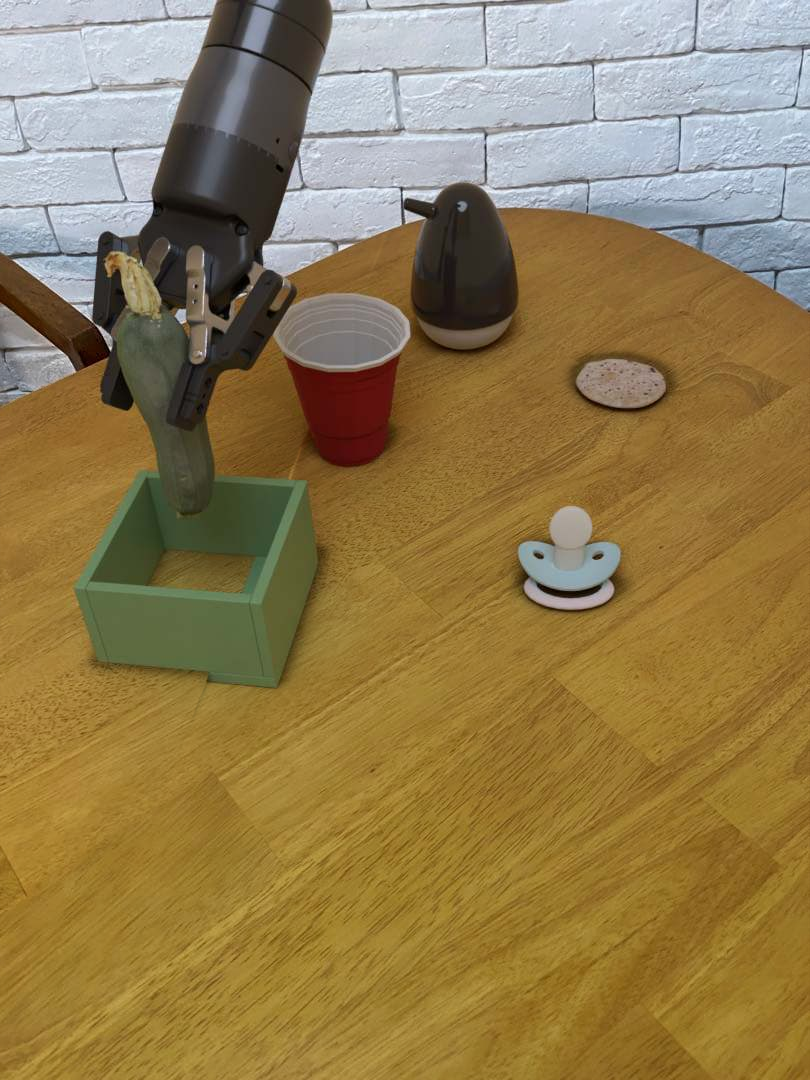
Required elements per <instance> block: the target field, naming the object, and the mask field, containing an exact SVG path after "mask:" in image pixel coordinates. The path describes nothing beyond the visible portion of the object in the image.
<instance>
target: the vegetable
mask: <svg viewBox="0 0 810 1080" xmlns="http://www.w3.org/2000/svg"><path fill="white" fill-rule="evenodd" d="M105 259H106V262H105V268H106V270H107V272H108V275H107V276H108V277H111V276H112V274H113V273H114V272H115V268H114V265H115V267H116V268H117V269H119V270H120V272H121V279H122V286H123V290H124V293H125V298H126V300H127V303H128V305H129V306H127V305H126V308H131V310H132V312H131V313H128V314H127V315H126V317H125V318H124V319H123V321H122V323H121V325H120V327H119V330H118V335H117V355H118V359H119V363H120V366H121V369H122V372H123V375H124V378H125V381H126V383H127V385H128V387H129V390H130V392H131V394H132V397H133V399H134V402H133V403H134V404H135V406H136V408H137V410H138V412H139V413H140V415H141V416H142V418H143V420H144V423H145V424H146V426H147V428H148V432H149V434H150V437H151V440H152V444H153V446H154V451H155V458H156V459H155V460H156V466H157V471H159V475H160V480H161V485H162V491H163V496H164V498H165V500H166V501H167V502H168V504H169V505H170V507H171V508H172V509H173V510H174V511H177V518H178V520H182V519H186V520H191V519H194V518H195V517H197V516H198V515H199V514H200V513H201V512H202V511H203V510H204V509H206V508H207V507H208V505H209V503H210V499H211V497H212V494H213V489H214V477H215V475H216V466H215V458H214V452H213V448H212V444H211V443H212V442H211V439H210V434H209V429H208V422H207V421H208V420H207V415H206V416H205V418H204V419H203V421H202V422H201V423H200V424H198V423H197V425H196V427H195V429H194V430H193V431H187V430H184V429H180V428H178V427H175V426H172V425H169V424H167V422H166V415H167V412H168V408H169V405H170V402H171V399H172V396H173V393H174V390H175V386H176V383H177V380H178V377H179V374H180V371H181V368H182V364H183V363H185V364H189V365H190V360H189V357H188V353H189V336H188V333H187V331H186V330H185V328H184V326H183V325H182V324H181V322H180V321H179V320H178V318H177V317H176V315H175V316H174V315H173V314H172V313H171V312H169V311H168V310H166V309H164V308H161V307H160V305H161V301H162V299H161V297H160V295H159V293H158V291H157V289H156V287H155V286H154V283H153V280H152V277H151V275H150V273H149V272H148V271H147V270H146V268H144V267H143V264H142V263H140V264H139V263H137V259H135V258H133V257H129V256H127V255H126V253H124V252H117V251H116V252H110V254H109V255H108V256H107V258H105ZM105 259H103V260H105Z"/></svg>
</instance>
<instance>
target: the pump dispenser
mask: <svg viewBox="0 0 810 1080" xmlns="http://www.w3.org/2000/svg"><path fill="white" fill-rule="evenodd" d="M402 208H403V210H405V211H407V212H409V213H412V214H414V215H417V216H420V217H422V218H425V219H424V221H423V223H422V226H421V229H420V232H419V235H418V239H417V242H416V246H415V251H414V255H413V261H412V267H411V277H410V293H409V294H410V295H409V296H410V297H409V298H410V307H411V310H412V312H413V314H414V315H415V317H416V319H417V322H418V324H419V326H420V328H421V330H423V332H424V334H426V336H428V337H429V338H430V339H431V340H432V341H433V342H435V343H436V344H438V345H440V346H443V347H446V348H450V349H453V350H474V349H478V348H482V347H485V346H487V345H489V344H491V343H493V342H494V341H496V340H497V339H499V338H500V337H501V336H502V335H503V334H504V332H506V330H507V328H508V327H509V325H510V323H511V321H512V318H513V315H514V313H515V311H517V308H518V306H519V300H520V299H519V298H520V296H519V295H520V293H519V282H518V274H517V273H518V272H517V267H516V261H515V255H514V251H513V247H512V244H511V241H510V238H509V234H508V231H507V229H506V226H505V223H504V221H503V219H502V216H501V214H500V211H499V210H498V207H497V206H496V204H495V203H494V201H493V199H492V198H491V197H490V195H489V193H488V192H487V191H486V190H484V188H483V187H481V186H479V185H477V184H475V183H472V182H467V181H457V182H455V183H451V184H449V185H447V186H446V187H444V188H443V189H442V190H441V191H440V192H439V193H438V194H437V195H436V197H435V199H434V200H433V202H429V201H425V200H420V199H416V198H415V199H414V198H411V197H406V198H405V199H403V201H402Z"/></svg>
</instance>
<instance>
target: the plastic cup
mask: <svg viewBox="0 0 810 1080" xmlns="http://www.w3.org/2000/svg"><path fill="white" fill-rule="evenodd" d="M410 338H411V327H410V320H409V319H408V318H407V317H406V316H405V314H404V313H403V312H402V311H401V310H400V308H399V307H397V306H395V305H393V304H391V303H389V302H387V301H386V300H383V299H381V298H379V297H375V296H370V295H365V294H361V293H357V292H351V293H349V292H347V293H345V292H344V293H341V292H340V293H339V292H337V293H334V292H333V293H332V292H330V293H325V294H321V295H317V296H312V297H307V298H304V299H301V300H300V301H298V302H296V303H295V304H293V305H292V304H291V305H290V307H289V309H288V310H287V312H286V313H285V315H284V317H283V318H282V320H281V322H280V323H279V325H278V326H277V328H276V330H275V331H274V333H273V340H274V342H275V344H276V345H277V346H278V349H280V351H281V352H282V354H283V358H284V359H285V361H286V364H287V368H288V370H289V372H290V374H291V378H292V381H293V384H294V387H295V390H296V394H297V396H298V399H299V402H300V406H301V408H302V411H303V415H304V419H305V421H306V423H307V425H308V427H309V429H310V433H311V436H312V439H313V442H314V446H315V447H316V449H317V451H318V453H319V455H320V456H321V457H322V459H323V460H324V461H325V462H327V463H329V464H331V465H333V466H339V467H343V468H344V467H345V468H349V467H360V466H363V465H366V464H369V463H371V462H373V461H375V460H376V459H377V458H379V457H380V456H381V455H382V453H383V452H384V450H385V446H386V443H387V440H388V439H387V438H388V432H389V431H388V429H389V420H390V418H391V414H392V406H393V399H394V393H395V384H396V377H397V369H398V366H399V363H400V359H401V356H402V354H403V350H404V348H405V347H406V345H407V344H408V343H409V340H410Z"/></svg>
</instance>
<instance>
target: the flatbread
mask: <svg viewBox="0 0 810 1080" xmlns="http://www.w3.org/2000/svg"><path fill="white" fill-rule="evenodd" d="M575 386H576V387H577V388H578V390H579V391H580V393H581V394H582V395H583V396H584V397H585V398H587V399H589V400H590V401H592V402H595V403H598V404H600V405H603V406H607V407H611V408H617V409H637V408H643V407H647V406H649V405H651V404H653V403H655V402H656V401H658V400H659V399H660V398H661V397H662V396H663V395H664V394H665V392H666V390H667V384H666V380H665V376H664V375H663V374H662V373H661V372H660V371H659V370H658V369H656V368H655V367H654V366H651V365H648V364H646V363H645V364H644V363H641V362H636V361H632V360H628V359H621V358H620V359H619V358H605V359H603V360H595V361H589V362H587V363H585V364H584V366H583V368H582V369H581V371H579V373H578V375H577V376H576V378H575Z"/></svg>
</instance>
